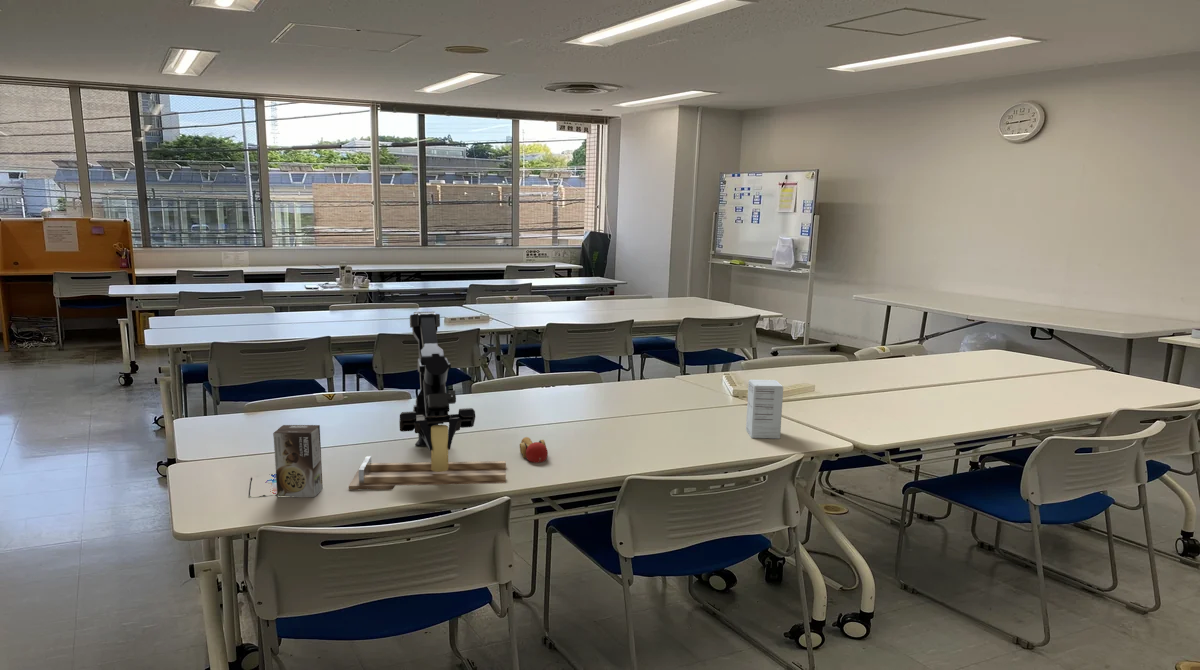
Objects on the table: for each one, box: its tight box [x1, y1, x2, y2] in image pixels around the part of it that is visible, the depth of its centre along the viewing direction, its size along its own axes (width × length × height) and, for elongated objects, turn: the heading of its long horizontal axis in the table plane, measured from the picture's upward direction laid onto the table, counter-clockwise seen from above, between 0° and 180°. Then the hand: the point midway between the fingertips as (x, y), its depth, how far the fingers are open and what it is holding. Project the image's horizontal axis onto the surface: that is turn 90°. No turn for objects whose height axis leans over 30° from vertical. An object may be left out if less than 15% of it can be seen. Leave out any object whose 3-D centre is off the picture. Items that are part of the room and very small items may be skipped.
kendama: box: [519, 436, 549, 464], centre depth 212 cm, size 8×6×18 cm
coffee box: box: [272, 424, 324, 498], centre depth 180 cm, size 9×6×16 cm
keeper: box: [430, 424, 449, 472], centre depth 189 cm, size 4×4×11 cm
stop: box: [358, 455, 372, 483], centre depth 191 cm, size 1×10×4 cm, turn 7°
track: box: [348, 460, 507, 491], centre depth 193 cm, size 38×14×2 cm, turn 97°
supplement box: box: [745, 379, 784, 440], centre depth 237 cm, size 10×9×17 cm
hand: (440, 449), depth 188 cm, fingers closed on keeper, 4 cm apart
